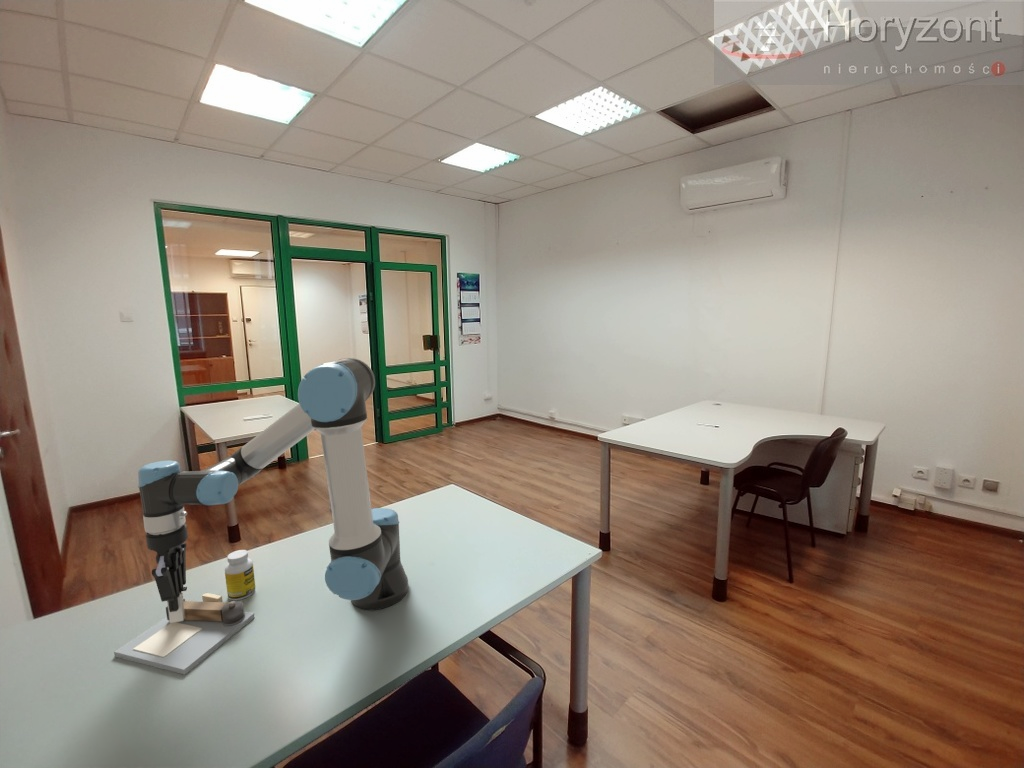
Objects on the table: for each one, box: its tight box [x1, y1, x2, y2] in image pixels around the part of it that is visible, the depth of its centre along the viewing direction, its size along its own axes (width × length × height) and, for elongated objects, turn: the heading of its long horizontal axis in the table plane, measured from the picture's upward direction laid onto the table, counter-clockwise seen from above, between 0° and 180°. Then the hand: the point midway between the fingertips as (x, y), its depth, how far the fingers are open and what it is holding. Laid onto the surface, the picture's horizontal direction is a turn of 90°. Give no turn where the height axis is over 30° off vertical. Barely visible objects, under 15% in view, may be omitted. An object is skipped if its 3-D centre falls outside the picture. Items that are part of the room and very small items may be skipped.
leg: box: [165, 598, 245, 624], centre depth 107 cm, size 18×4×4 cm, turn 87°
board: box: [113, 592, 255, 675], centre depth 103 cm, size 20×18×4 cm
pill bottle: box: [224, 549, 256, 601], centre depth 118 cm, size 6×6×12 cm
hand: (177, 620), depth 105 cm, fingers closed
